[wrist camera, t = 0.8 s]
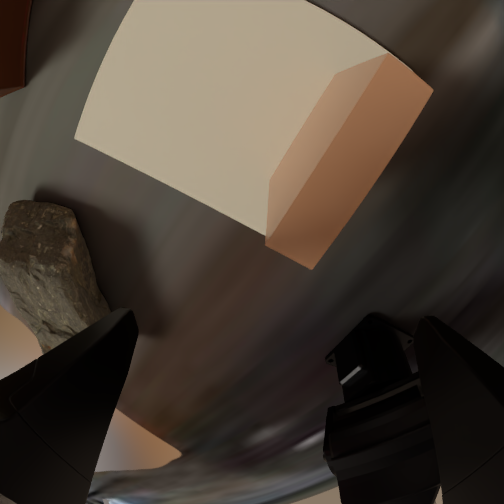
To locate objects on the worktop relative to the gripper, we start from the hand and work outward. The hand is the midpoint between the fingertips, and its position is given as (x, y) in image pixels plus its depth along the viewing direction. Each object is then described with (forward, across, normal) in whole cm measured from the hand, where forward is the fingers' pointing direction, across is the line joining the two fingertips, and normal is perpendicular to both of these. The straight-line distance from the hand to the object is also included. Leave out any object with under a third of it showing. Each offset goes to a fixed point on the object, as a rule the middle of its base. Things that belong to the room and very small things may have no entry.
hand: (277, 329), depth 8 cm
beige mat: (+12, +3, -7) cm, 15 cm away
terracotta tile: (+12, -2, -4) cm, 13 cm away
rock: (+13, +18, +6) cm, 23 cm away
